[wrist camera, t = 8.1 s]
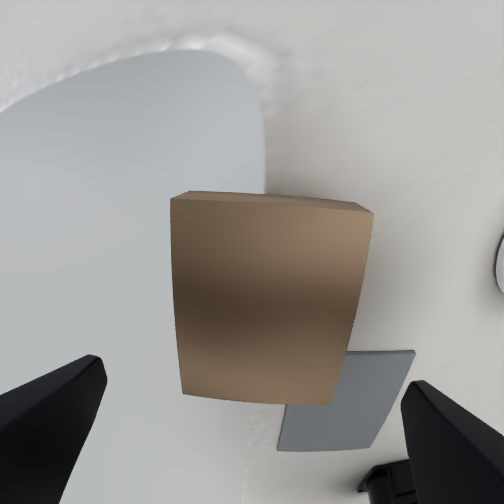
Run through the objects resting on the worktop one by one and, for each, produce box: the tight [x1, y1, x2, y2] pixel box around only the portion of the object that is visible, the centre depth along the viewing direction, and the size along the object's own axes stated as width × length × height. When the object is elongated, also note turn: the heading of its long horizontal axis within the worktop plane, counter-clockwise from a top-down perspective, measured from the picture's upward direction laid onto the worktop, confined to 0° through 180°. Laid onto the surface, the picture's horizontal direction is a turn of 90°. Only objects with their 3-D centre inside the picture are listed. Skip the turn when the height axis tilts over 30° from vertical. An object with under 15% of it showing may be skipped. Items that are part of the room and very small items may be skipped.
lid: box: [170, 191, 374, 405], centre depth 12 cm, size 9×7×2 cm
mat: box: [277, 350, 416, 452], centre depth 20 cm, size 12×9×1 cm
